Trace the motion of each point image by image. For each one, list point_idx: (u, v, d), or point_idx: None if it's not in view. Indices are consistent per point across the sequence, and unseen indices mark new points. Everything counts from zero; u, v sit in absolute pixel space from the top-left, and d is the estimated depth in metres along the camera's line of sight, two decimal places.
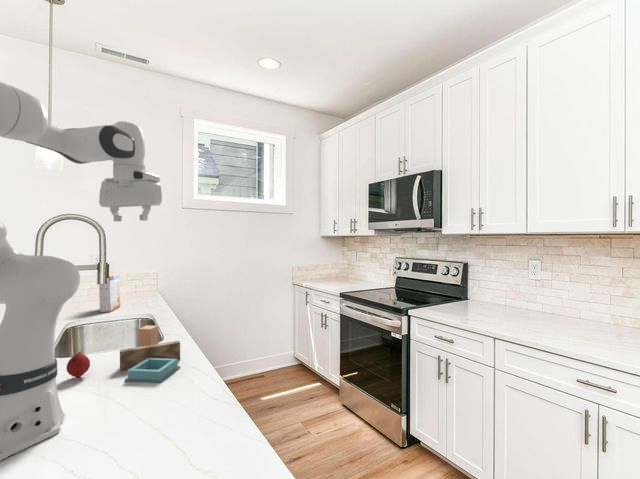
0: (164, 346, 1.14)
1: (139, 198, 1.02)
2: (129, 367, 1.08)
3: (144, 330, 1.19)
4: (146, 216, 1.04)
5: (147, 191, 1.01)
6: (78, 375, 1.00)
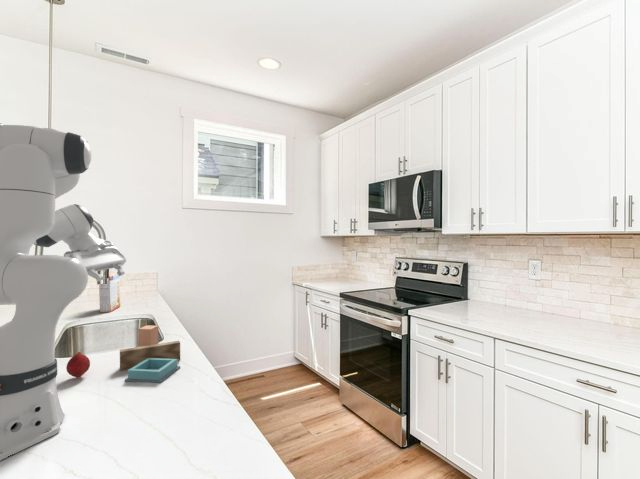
0: (164, 346, 1.14)
1: (114, 258, 1.26)
2: (129, 367, 1.08)
3: (144, 330, 1.19)
4: None
5: (117, 253, 1.29)
6: (78, 375, 1.00)
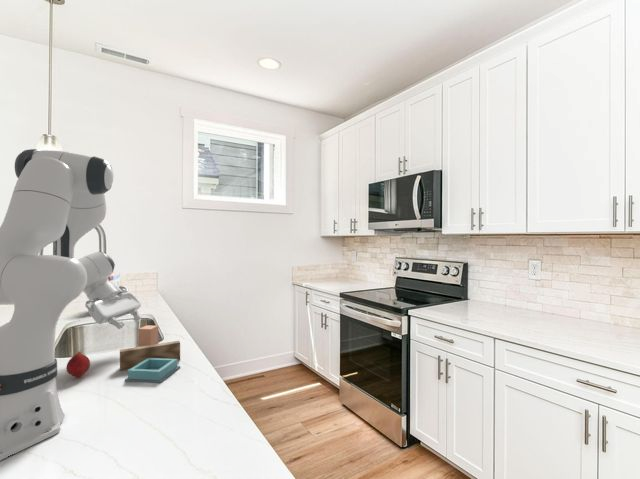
0: (164, 346, 1.14)
1: (130, 304, 1.27)
2: (129, 367, 1.08)
3: (144, 330, 1.19)
4: None
5: (132, 298, 1.30)
6: (78, 375, 1.00)
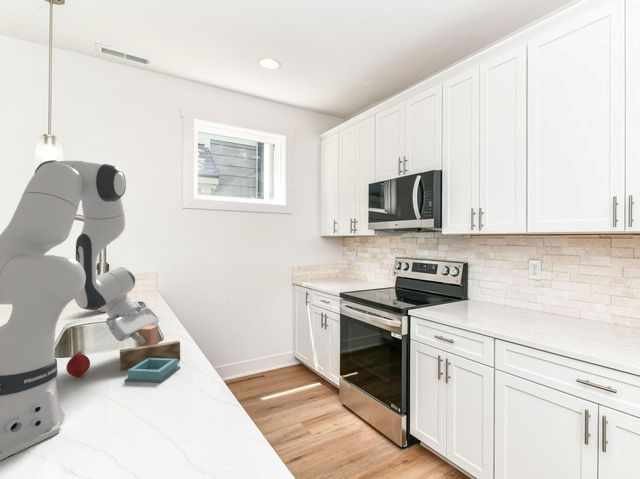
0: (164, 346, 1.14)
1: (149, 319, 1.26)
2: (129, 367, 1.08)
3: (144, 330, 1.19)
4: None
5: (150, 314, 1.29)
6: (78, 375, 1.00)
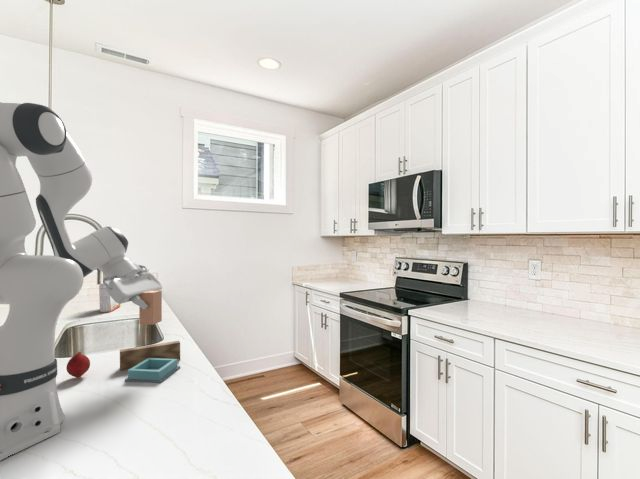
0: (164, 346, 1.14)
1: (151, 285, 1.13)
2: (129, 367, 1.08)
3: (146, 294, 1.05)
4: None
5: (152, 279, 1.16)
6: (78, 375, 1.00)
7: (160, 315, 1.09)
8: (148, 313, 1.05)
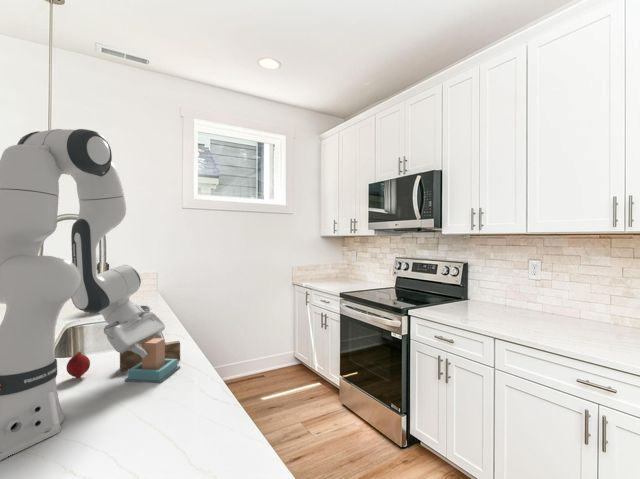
0: None
1: (154, 326, 1.09)
2: (129, 367, 1.08)
3: (148, 344, 1.02)
4: None
5: (155, 320, 1.12)
6: (78, 375, 1.00)
7: (163, 364, 1.05)
8: (151, 364, 1.02)
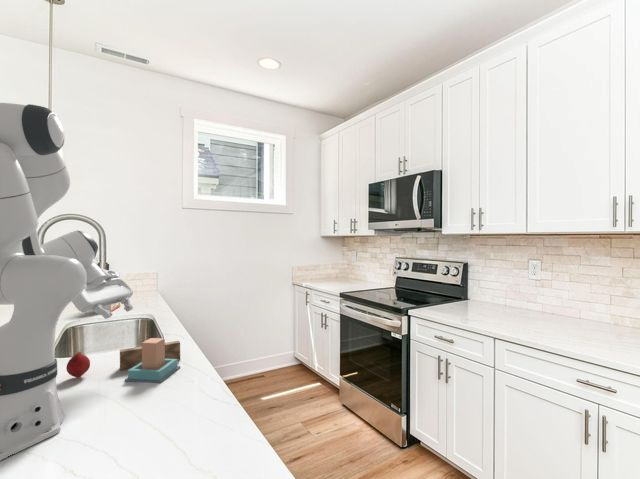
0: None
1: (121, 291, 1.10)
2: (129, 367, 1.08)
3: (148, 344, 1.02)
4: None
5: (123, 285, 1.13)
6: (78, 375, 1.00)
7: (163, 364, 1.05)
8: (151, 363, 1.02)
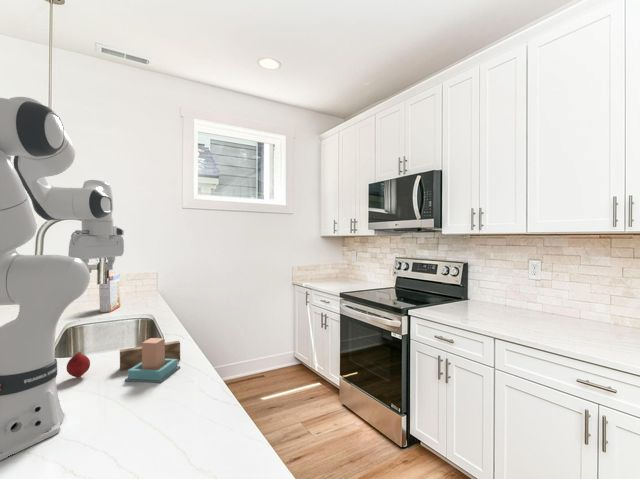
0: None
1: (113, 251, 1.16)
2: (129, 367, 1.08)
3: (148, 344, 1.02)
4: None
5: (119, 245, 1.19)
6: (78, 375, 1.00)
7: (163, 364, 1.05)
8: (151, 363, 1.02)
